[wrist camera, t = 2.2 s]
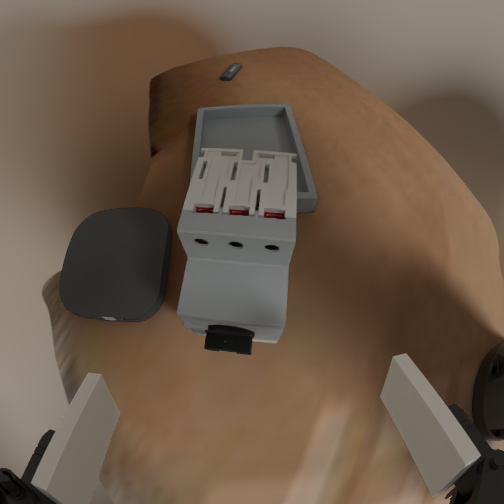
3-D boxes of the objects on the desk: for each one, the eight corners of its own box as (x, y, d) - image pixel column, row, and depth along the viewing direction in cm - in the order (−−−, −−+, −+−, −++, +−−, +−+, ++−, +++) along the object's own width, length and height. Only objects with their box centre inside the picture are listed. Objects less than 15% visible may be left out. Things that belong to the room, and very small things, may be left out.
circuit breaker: (200, 356, 28) (154, 324, 14) (219, 239, 34) (202, 145, 21) (271, 364, 27) (291, 341, 14) (280, 244, 34) (296, 151, 21)
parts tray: (313, 212, 36) (318, 198, 34) (192, 219, 36) (188, 205, 33) (287, 117, 47) (289, 104, 44) (200, 121, 46) (198, 108, 43)
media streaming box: (176, 217, 36) (171, 203, 34) (164, 325, 30) (155, 318, 27) (87, 222, 36) (78, 210, 34) (64, 316, 29) (51, 309, 27)
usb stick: (230, 82, 54) (230, 77, 53) (219, 81, 54) (219, 76, 53) (243, 67, 58) (243, 62, 57) (233, 66, 59) (232, 61, 57)
